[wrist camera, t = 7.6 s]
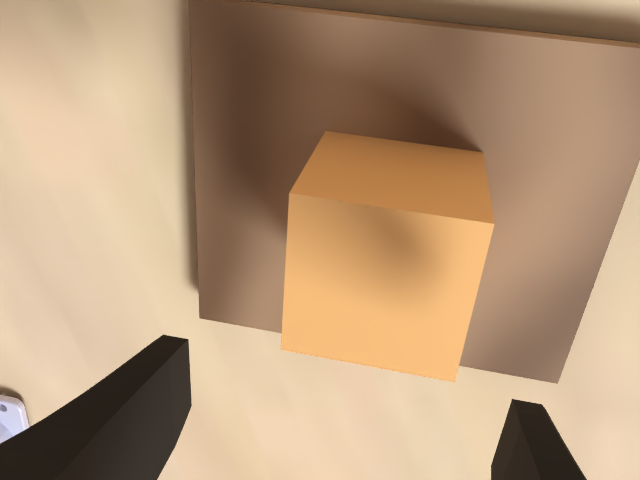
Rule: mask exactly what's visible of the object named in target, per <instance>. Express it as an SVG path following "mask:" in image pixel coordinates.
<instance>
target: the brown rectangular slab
mask: <svg viewBox="0 0 640 480" xmlns="http://www.w3.org/2000/svg"><path fill="white" fill-rule="evenodd" d="M189 15H190V46H191V76H192V106H193V136H194V166H195V196H196V226H197V257H198V287H199V317H200V318H202V319H207V320H213V321H218V322H223V323H229V324H234V325H240V326H245V327H251V328H256V329H262V330H267V331H273V332H278V333H282V318H283V299H284V281H285V262H286V244H287V225H288V207H289V193H290V191H291V189H292V187H293V186H294V184H295V182H296V181H297V179H298V177H299V176H300V174H301V172H302V170H303V169H304V167H305V165H306V164H307V162H308V160H309V159H310V157H311V155H312V153H313V152H314V150H315V148H316V147H317V145H318V143H319V141H320V140H321V138H322V136H323V135H324V133H325V131H329V132H336V133H344V134H351V135H359V136H366V137H373V138H381V139H388V140H396V141H403V142H410V143H418V144H425V145H432V146H440V147H447V148H455V149H462V150H469V151H477V152H483V154H484V160H485V167H486V173H487V179H488V186H489V192H490V198H491V205H492V211H493V217H494V228H493V232H492V236H491V240H490V244H489V248H488V252H487V256H486V260H485V264H484V268H483V272H482V276H481V280H480V284H479V288H478V292H477V296H476V300H475V304H474V308H473V312H472V316H471V320H470V324H469V327H468V331H467V335H466V339H465V343H464V347H463V351H462V355H461V359H460V363H459V366H464V367H470V368H475V369H480V370H486V371H491V372H497V373H502V374H508V375H513V376H519V377H524V378H530V379H535V380H541V381H546V382H552V383H557V384H558V381H559V378H560V376H561V373H562V370H563V367H564V365H565V362H566V359H567V357H568V354H569V351H570V348H571V346H572V343H573V340H574V338H575V335H576V332H577V329H578V327H579V324H580V321H581V318H582V316H583V313H584V310H585V308H586V305H587V302H588V299H589V297H590V294H591V291H592V288H593V286H594V283H595V280H596V278H597V275H598V272H599V269H600V267H601V264H602V261H603V259H604V256H605V253H606V250H607V248H608V245H609V242H610V239H611V237H612V234H613V231H614V229H615V226H616V223H617V220H618V218H619V215H620V212H621V209H622V207H623V204H624V201H625V199H626V196H627V193H628V190H629V188H630V185H631V182H632V180H633V177H634V174H635V171H636V169H637V166H638V163H639V160H640V43H634V42H624V41H615V40H606V39H596V38H587V37H578V36H569V35H559V34H550V33H541V32H531V31H522V30H513V29H504V28H494V27H485V26H476V25H466V24H457V23H448V22H439V21H429V20H420V19H411V18H401V17H392V16H383V15H374V14H364V13H355V12H346V11H336V10H327V9H318V8H309V7H299V6H290V5H281V4H271V3H262V2H253V1H244V0H189Z"/></svg>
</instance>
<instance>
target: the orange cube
mask: <svg viewBox="0 0 640 480" xmlns="http://www.w3.org/2000/svg"><path fill="white" fill-rule="evenodd" d="M493 228H494V217H493V211H492V205H491V198H490V192H489V186H488V179H487V173H486V167H485V160H484V154H483V152H477V151H469V150H462V149H455V148H447V147H440V146H432V145H425V144H418V143H410V142H403V141H396V140H388V139H381V138H373V137H366V136H359V135H351V134H344V133H336V132H329V131H325V133H324V135H323V136H322V138H321V140H320V141H319V143H318V145H317V147H316V148H315V150H314V152H313V153H312V155H311V157H310V159H309V160H308V162H307V164H306V165H305V167H304V169H303V170H302V172H301V174H300V176H299V177H298V179H297V181H296V182H295V184H294V186H293V187H292V189H291V191H290V193H289V207H288V225H287V244H286V262H285V281H284V299H283V318H282V336H281V350H285V351H291V352H296V353H301V354H307V355H312V356H317V357H323V358H328V359H333V360H339V361H344V362H349V363H355V364H360V365H365V366H371V367H376V368H381V369H387V370H392V371H398V372H403V373H408V374H414V375H419V376H424V377H430V378H435V379H440V380H446V381H451V382H455V379H456V375H457V371H458V367H459V363H460V359H461V355H462V351H463V347H464V343H465V339H466V335H467V331H468V327H469V324H470V320H471V316H472V312H473V308H474V304H475V300H476V296H477V292H478V288H479V284H480V280H481V276H482V272H483V268H484V264H485V260H486V256H487V252H488V248H489V244H490V240H491V236H492V232H493Z"/></svg>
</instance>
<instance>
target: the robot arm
mask: <svg viewBox="0 0 640 480" xmlns="http://www.w3.org/2000/svg"><path fill="white" fill-rule="evenodd" d="M191 406H192V405H191V384H190V364H189V343H188V339H183V338H178V337H173V336H167V335H162V336H161V337H159V338H158V339H157V340H155V341H154V342H152V343H151V344H150V345H148V346H147V347H146V348H144V349H143V350H142V351H140V352H139V353H138V354H136V355H135V356H134V357H132V358H131V359H130V360H128V361H127V362H126V363H124V364H123V365H122V366H120V367H119V368H118V369H116V370H115V371H114V372H112V373H111V374H109V375H108V376H107V377H105V378H104V379H102V380H101V381H100V382H98V383H97V384H95V385H94V386H93V387H91V388H90V389H89V390H87V391H86V392H84V393H83V394H81V395H80V396H78V397H77V398H75V399H74V400H72V401H71V402H69V403H68V404H66V405H65V406H63V407H62V408H60V409H58V410H57V411H55V412H54V413H52V414H51V415H49V416H48V417H46V418H44V419H43V420H41V421H39V422H38V423H36V424H34V425H33V426H31V427H29V423H28V419H27V415H26V411H25V407H24V404H23V403H22V402H21V401H20V400H19V399H17V398H14V397H9V396H4V395H0V480H157V479H158V477H159V475H160V473H161V471H162V470H163V468H164V466H165V464H166V462H167V460H168V459H169V457H170V455H171V453H172V451H173V449H174V448H175V445H176V443H177V441H178V438H179V436H180V434H181V431H182V429H183V426H184V424H185V421H186V419H187V416H188V413H189V411H190V408H191ZM491 480H587V479H586V478H585V476H584V475H583V473H582V471H581V470H580V468H579V466H578V465H577V463H576V461H575V460H574V458H573V456H572V455H571V453H570V451H569V450H568V448H567V446H566V445H565V443H564V441H563V439H562V438H561V436H560V434H559V432H558V431H557V429H556V427H555V425H554V423H553V422H552V420H551V418H550V416H549V415H548V413H547V411H546V409H545V408H544V407H543V405H542V404H536V403H531V402H525V401H520V400H514V399H512V402H511V405H510V408H509V411H508V414H507V417H506V421H505V424H504V427H503V430H502V433H501V436H500V440H499V443H498V446H497V449H496V452H495V455H494V458H493V462H492V465H491Z"/></svg>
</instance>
